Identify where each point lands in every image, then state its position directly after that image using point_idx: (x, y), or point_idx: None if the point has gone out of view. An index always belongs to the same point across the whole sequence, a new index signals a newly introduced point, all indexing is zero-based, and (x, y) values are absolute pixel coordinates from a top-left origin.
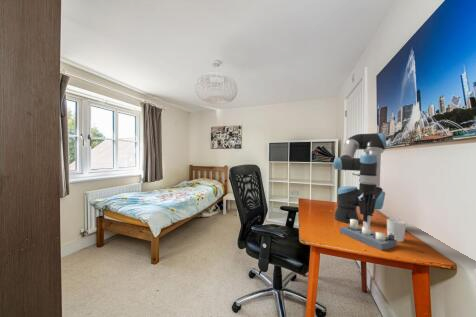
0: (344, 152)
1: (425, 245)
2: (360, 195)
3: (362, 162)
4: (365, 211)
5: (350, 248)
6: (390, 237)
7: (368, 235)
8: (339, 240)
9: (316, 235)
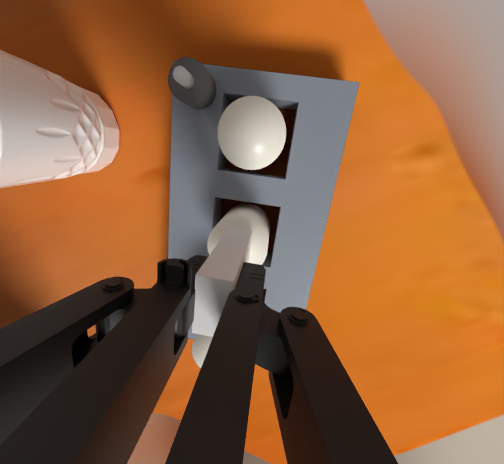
0: None
1: None
2: None
3: None
4: (302, 349)
5: (476, 207)
6: (211, 80)
7: (259, 212)
8: (407, 290)
9: (445, 379)
